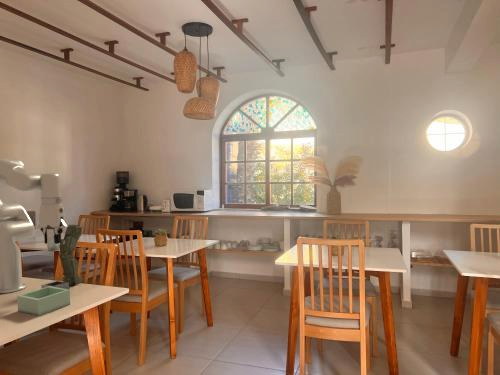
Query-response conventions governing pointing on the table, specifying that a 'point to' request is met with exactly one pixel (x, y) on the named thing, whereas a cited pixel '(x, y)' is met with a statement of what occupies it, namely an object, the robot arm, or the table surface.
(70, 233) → the mechanical leg
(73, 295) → the table surface
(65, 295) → the bin
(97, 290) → the table surface
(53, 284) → the socket block
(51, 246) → the strut
